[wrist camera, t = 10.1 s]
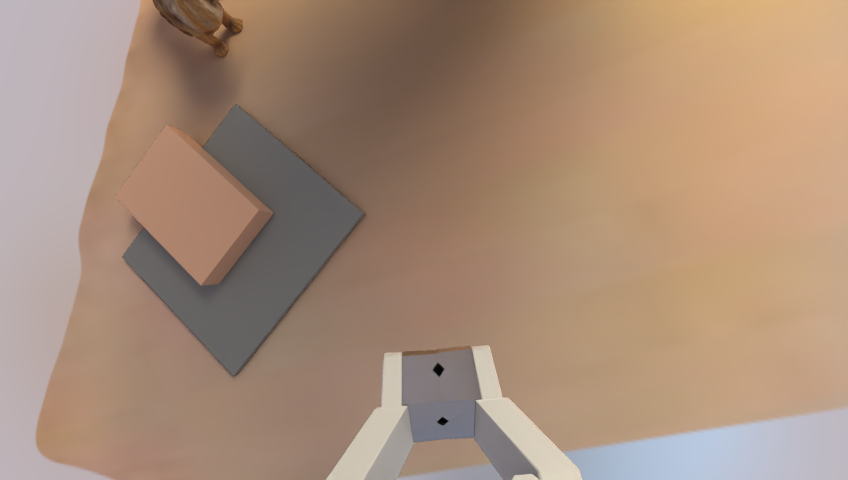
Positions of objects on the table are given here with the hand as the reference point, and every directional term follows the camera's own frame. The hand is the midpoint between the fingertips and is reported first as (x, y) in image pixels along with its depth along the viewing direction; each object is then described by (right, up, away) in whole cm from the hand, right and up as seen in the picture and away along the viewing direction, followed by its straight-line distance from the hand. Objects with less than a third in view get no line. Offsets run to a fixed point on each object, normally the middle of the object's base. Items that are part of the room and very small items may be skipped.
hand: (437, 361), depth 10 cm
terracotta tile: (-16, +3, +20) cm, 26 cm away
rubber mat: (-17, +4, +22) cm, 28 cm away
